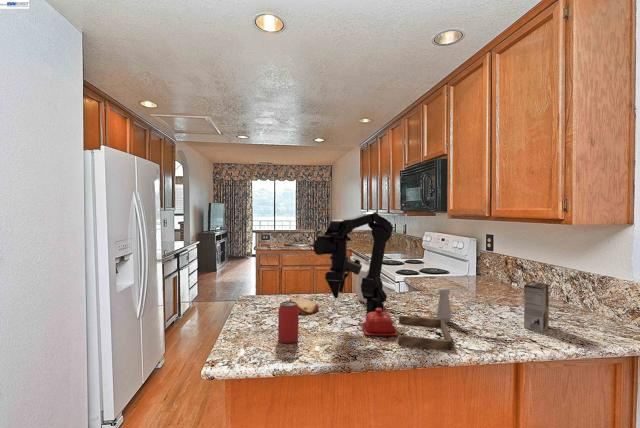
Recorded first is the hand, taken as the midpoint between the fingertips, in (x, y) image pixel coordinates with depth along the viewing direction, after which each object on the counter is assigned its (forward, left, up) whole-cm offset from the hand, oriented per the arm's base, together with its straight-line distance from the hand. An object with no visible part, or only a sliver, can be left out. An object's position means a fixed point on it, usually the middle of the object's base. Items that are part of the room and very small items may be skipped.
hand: (338, 295), depth 118 cm
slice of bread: (-20, +18, -12) cm, 30 cm away
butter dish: (+15, -2, -12) cm, 19 cm away
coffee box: (+72, +20, -12) cm, 76 cm away
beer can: (-13, -18, -12) cm, 25 cm away
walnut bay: (+30, 0, -11) cm, 32 cm away
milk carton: (+7, +37, -12) cm, 39 cm away
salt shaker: (+39, +17, -12) cm, 44 cm away
